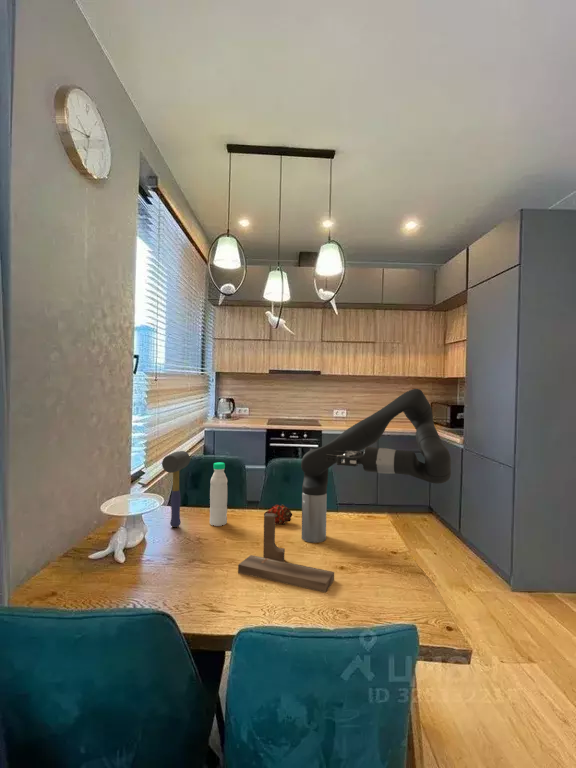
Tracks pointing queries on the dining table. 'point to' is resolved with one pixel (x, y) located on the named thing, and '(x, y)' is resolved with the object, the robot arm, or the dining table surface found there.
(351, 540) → the dining table surface
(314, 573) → the walnut plank
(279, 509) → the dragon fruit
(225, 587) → the dining table surface
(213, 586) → the dining table surface
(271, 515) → the wooden block
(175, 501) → the rubber mallet
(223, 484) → the water bottle
